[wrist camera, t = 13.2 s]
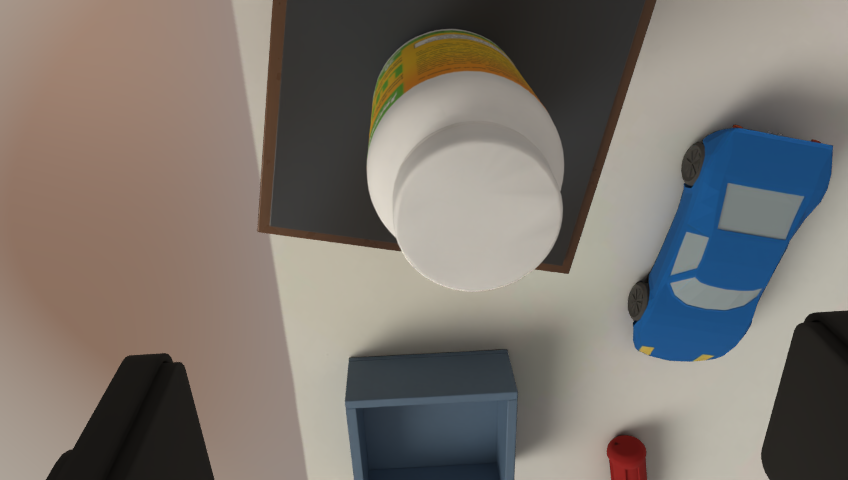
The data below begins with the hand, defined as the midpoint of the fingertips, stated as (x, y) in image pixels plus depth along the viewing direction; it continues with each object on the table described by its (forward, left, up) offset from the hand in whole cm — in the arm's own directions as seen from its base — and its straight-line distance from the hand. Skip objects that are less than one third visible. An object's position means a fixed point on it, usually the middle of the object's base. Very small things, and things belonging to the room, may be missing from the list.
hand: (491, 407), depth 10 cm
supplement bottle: (0, +1, -16) cm, 16 cm away
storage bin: (+29, -19, -38) cm, 51 cm away
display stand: (0, +1, -38) cm, 38 cm away
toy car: (+28, +9, -38) cm, 48 cm away
